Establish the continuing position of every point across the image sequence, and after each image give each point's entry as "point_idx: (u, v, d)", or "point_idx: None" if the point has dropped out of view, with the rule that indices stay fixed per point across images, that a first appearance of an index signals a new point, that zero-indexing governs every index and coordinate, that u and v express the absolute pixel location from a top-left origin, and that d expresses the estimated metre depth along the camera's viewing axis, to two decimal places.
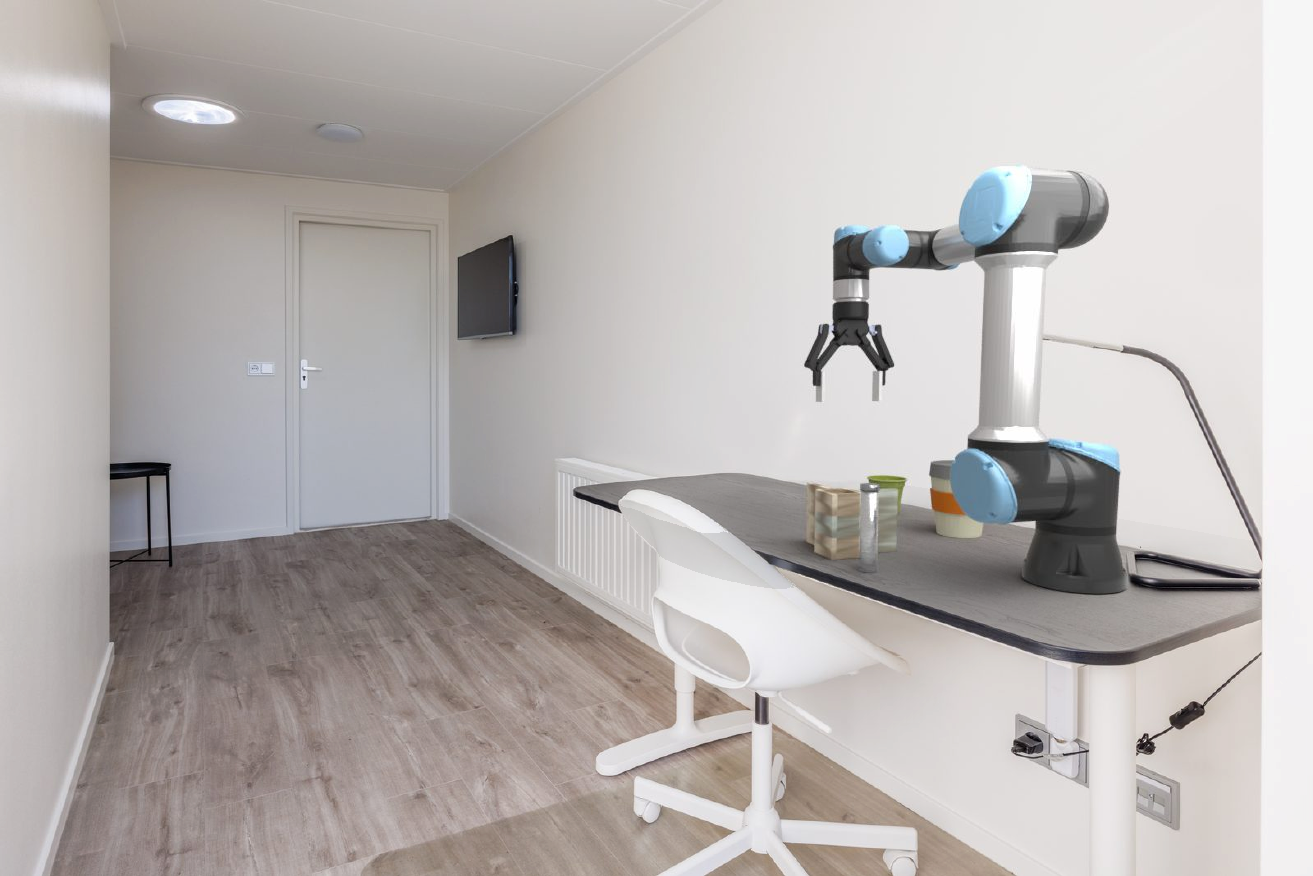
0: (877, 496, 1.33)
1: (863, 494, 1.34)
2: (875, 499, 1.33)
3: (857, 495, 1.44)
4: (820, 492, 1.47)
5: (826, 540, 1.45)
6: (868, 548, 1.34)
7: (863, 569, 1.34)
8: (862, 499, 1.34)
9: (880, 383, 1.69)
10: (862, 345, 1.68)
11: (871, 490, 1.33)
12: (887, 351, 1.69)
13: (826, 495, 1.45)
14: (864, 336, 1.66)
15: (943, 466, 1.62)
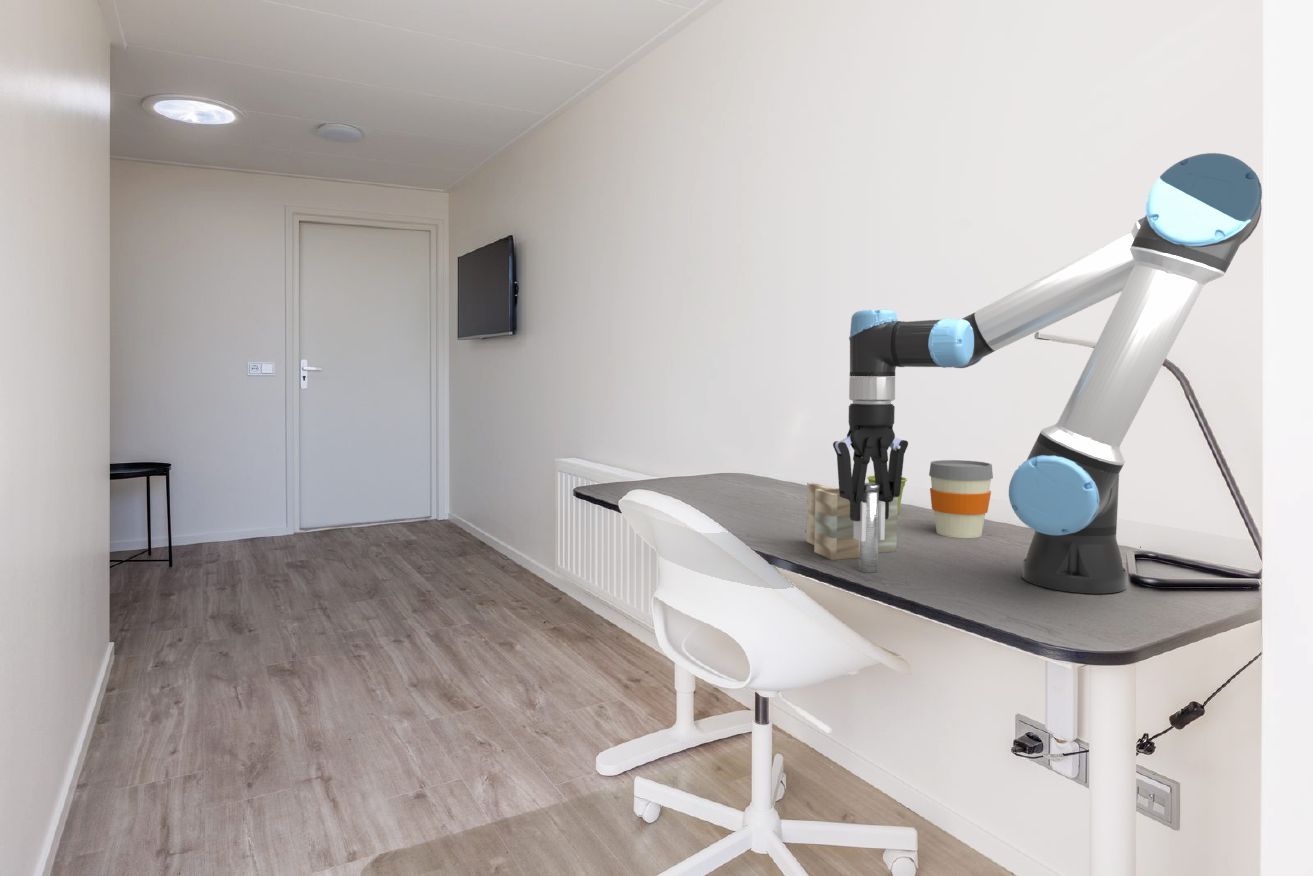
0: (877, 496, 1.33)
1: (863, 494, 1.34)
2: (875, 499, 1.33)
3: None
4: (820, 492, 1.47)
5: (826, 540, 1.45)
6: (868, 548, 1.34)
7: (863, 569, 1.34)
8: (862, 499, 1.34)
9: (882, 517, 1.34)
10: (877, 459, 1.34)
11: (871, 490, 1.33)
12: (900, 476, 1.34)
13: (826, 495, 1.45)
14: (885, 449, 1.33)
15: (943, 466, 1.62)
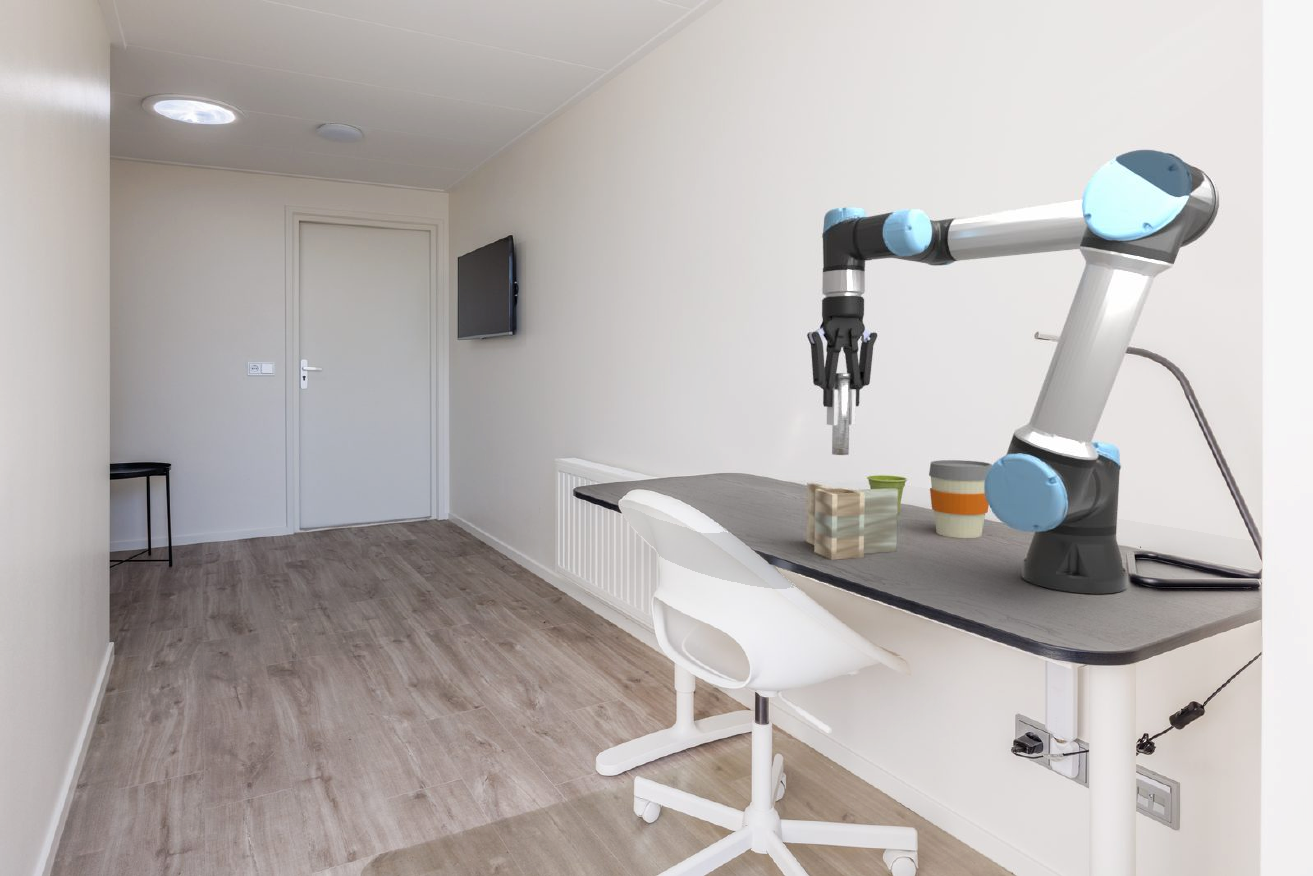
0: (848, 383, 1.44)
1: (835, 381, 1.44)
2: (846, 386, 1.43)
3: (857, 495, 1.44)
4: (820, 492, 1.47)
5: (826, 540, 1.45)
6: (840, 432, 1.44)
7: (835, 452, 1.45)
8: (834, 386, 1.44)
9: (853, 404, 1.44)
10: (848, 349, 1.44)
11: (842, 377, 1.43)
12: (869, 365, 1.45)
13: (826, 495, 1.45)
14: (855, 339, 1.43)
15: (943, 466, 1.62)
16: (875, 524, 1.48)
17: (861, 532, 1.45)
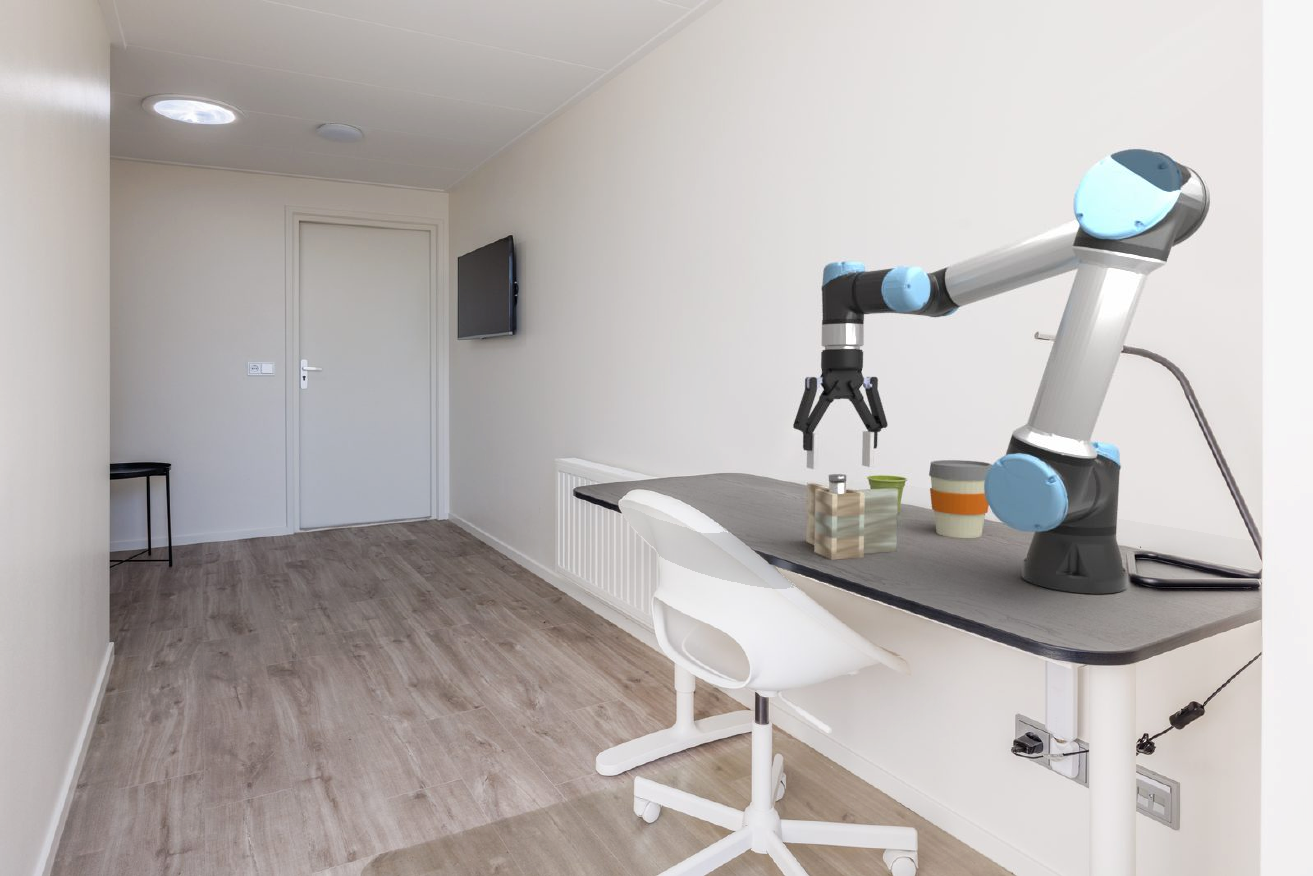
0: (844, 486, 1.45)
1: (831, 484, 1.45)
2: (842, 489, 1.45)
3: (857, 495, 1.44)
4: (820, 492, 1.47)
5: (826, 540, 1.45)
6: None
7: None
8: (830, 489, 1.45)
9: (871, 446, 1.46)
10: (854, 399, 1.45)
11: (838, 481, 1.44)
12: (881, 408, 1.46)
13: (826, 495, 1.45)
14: (857, 389, 1.44)
15: (943, 466, 1.62)
16: (875, 524, 1.48)
17: (861, 532, 1.45)
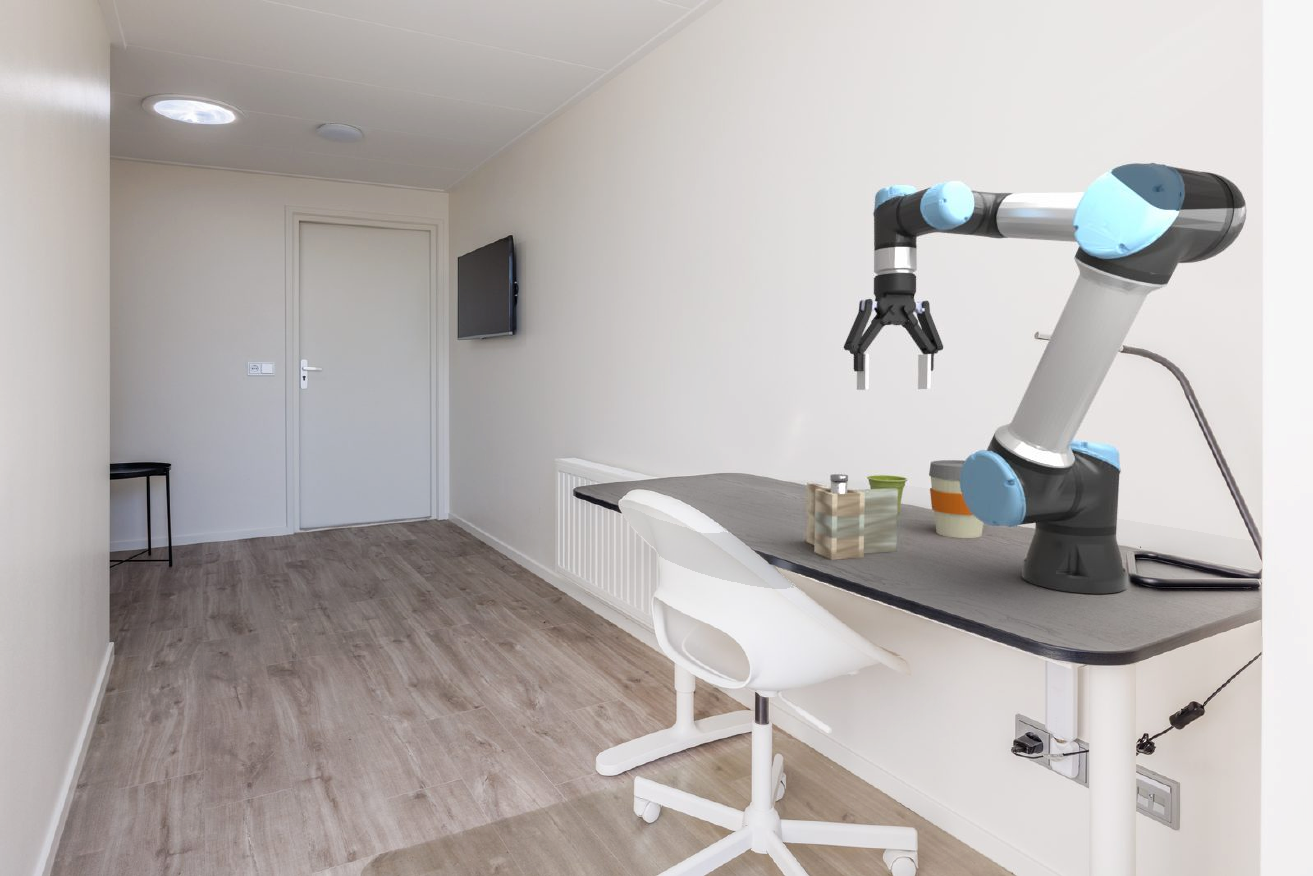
0: (846, 486, 1.45)
1: (832, 484, 1.46)
2: (843, 489, 1.45)
3: (857, 495, 1.44)
4: (820, 492, 1.47)
5: (826, 540, 1.45)
6: None
7: None
8: (832, 489, 1.46)
9: (928, 368, 1.47)
10: (908, 324, 1.46)
11: (840, 480, 1.45)
12: (935, 331, 1.47)
13: (826, 495, 1.45)
14: (911, 314, 1.44)
15: (943, 466, 1.62)
16: (875, 524, 1.48)
17: (861, 532, 1.45)
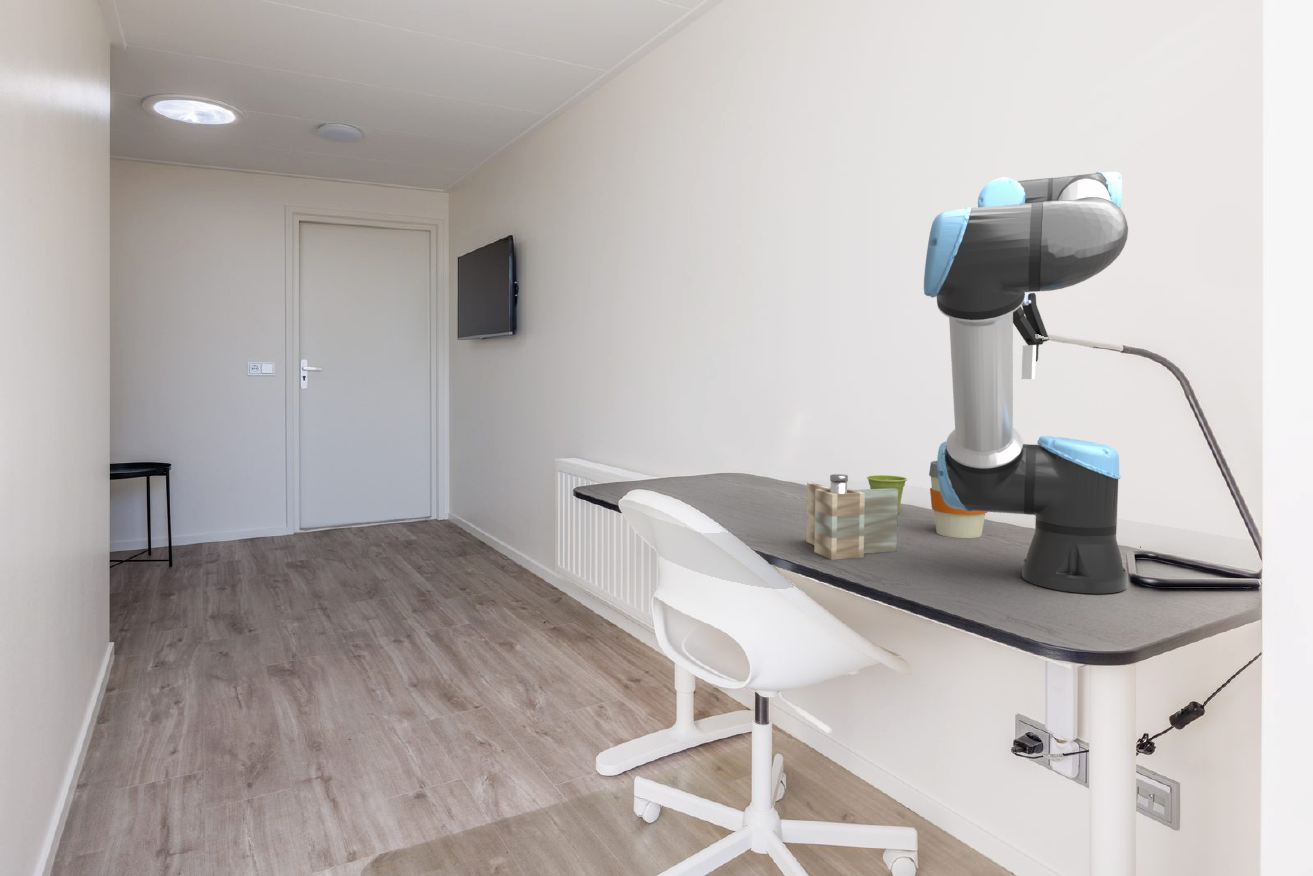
0: (845, 486, 1.45)
1: (832, 484, 1.45)
2: (843, 489, 1.45)
3: (857, 495, 1.44)
4: (820, 492, 1.47)
5: (826, 540, 1.45)
6: None
7: None
8: (832, 489, 1.46)
9: (1033, 359, 1.51)
10: (1014, 316, 1.50)
11: (840, 480, 1.45)
12: (1041, 323, 1.51)
13: (826, 495, 1.45)
14: None
15: None
16: (875, 524, 1.48)
17: (861, 532, 1.45)
